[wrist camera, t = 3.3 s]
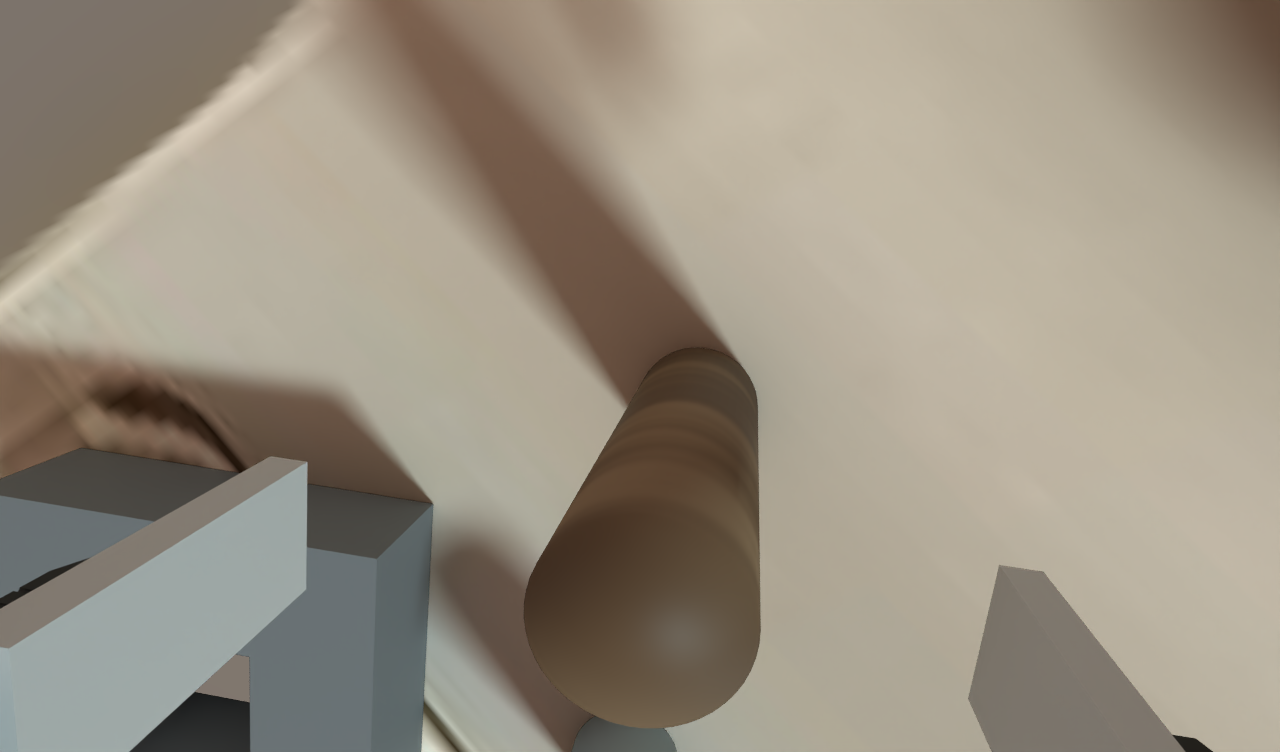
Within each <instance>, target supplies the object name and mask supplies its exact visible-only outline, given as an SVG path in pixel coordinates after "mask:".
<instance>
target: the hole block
mask: <svg viewBox="0 0 1280 752" xmlns="http://www.w3.org/2000/svg"><path fill="white" fill-rule="evenodd" d="M238 474H240V473H235V472H229V471H223V470H216V469H210V468H204V467H198V466H191V465H185V464H179V463H173V462H166V461H160V460H154V459H147V458H141V457H135V456H129V455H122V454H116V453H110V452H104V451H97V450H91V449H85V448H79V449H77V450H74V451H72V452H69V453H66V454H64V455H61V456H59V457H56V458H53V459H51V460H48V461H46V462H43V463H40V464H38V465H35V466H32V467H30V468H27V469H25V470H22V471H19V472H17V473H14V474H12V475H9V476H6V477H4V478H1V479H0V598H1V597H3V596H5V595H7V594H9V593H11V592H12V591H16V592H18V590H19V588H20V587H21V586H23V585H25V584H27V583H29V582H31V581H32V580H34V579H36V578H38V577H40V576H41V575H43V574H45V573H47V572H49V571H51V570H54V569H57V568H60V567H63V566H66V565H69V564H72V563H75V562H78V561H81V560H84V559H87V558H91V557H93V556H95V555H96V554H98V553H100V552H102V551H104V550H105V549H107V548H109V547H111V546H112V545H114V544H116V543H118V542H119V541H121V540H123V539H125V538H127V537H128V536H130V535H132V534H134V533H135V532H137V531H139V530H141V529H142V528H144V527H146V526H148V525H150V524H151V523H153V522H155V521H157V520H158V519H160V518H162V517H164V516H165V515H167V514H169V513H171V512H173V511H174V510H176V509H178V508H180V507H181V506H183V505H185V504H187V503H188V502H190V501H192V500H194V499H196V498H197V497H199V496H201V495H203V494H204V493H206V492H208V491H210V490H212V489H213V488H215V487H217V486H219V485H220V484H222V483H224V482H226V481H227V480H229V479H231V478H233V477H235V476H236V475H238ZM432 517H433V504H430V503H424V502H417V501H411V500H405V499H398V498H392V497H386V496H380V495H373V494H367V493H361V492H355V491H348V490H342V489H336V488H329V487H323V486H317V485H311V484H307V557H306V590H305V591H304V592H303V593H302V594H301V595H300V596H298V597H297V598H296V599H295V600H294V601H293V602H292V603H291V604H290V605H289V606H288V607H286V608H285V609H284V610H283V611H282V612H281V613H280V614H279V615H278V616H277V617H276V618H274V619H273V620H272V621H271V622H270V623H269V624H268V625H267V626H266V627H265V628H264V629H262V630H261V631H260V632H259V633H258V634H257V635H256V636H255V637H254V638H253V639H252V640H250V641H249V642H248V643H247V644H246V645H245V646H244V647H243V648H242V649H241V650H240V651H238V652H237V653H236V654H237V655H241V656H247V657H249V662H250V703H249V702H244V701H239V700H233V699H228V698H223V697H218V696H212V695H207V694H202V693H197V692H194V693H193V694H192V695H191V696H189V697H188V698H187V699H186V700H185V701H184V702H183V703H182V704H181V705H180V706H179V707H177V708H176V709H175V710H174V711H173V712H172V713H171V714H170V715H169V716H168V717H167V718H165V719H164V720H163V721H162V722H161V723H160V724H159V725H158V726H157V727H156V728H155V729H153V730H152V731H151V732H150V733H149V734H148V735H147V736H146V737H145V738H144V739H143V740H141V741H140V742H139V743H138V744H137V745H136V746H135V747H134V748H133V749H132V750H131V751H129V752H421V743H422V723H423V702H424V681H425V661H426V640H427V620H428V599H429V579H430V558H431V537H432Z"/></svg>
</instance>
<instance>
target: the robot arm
mask: <svg viewBox="0 0 1280 752" xmlns="http://www.w3.org/2000/svg"><path fill="white" fill-rule="evenodd" d="M306 557H307V462H306V461H299V460H292V459H286V458H279V457H272V456H270V457H268V458H266V459H265V460H263V461H261V462H259V463H258V464H256V465H254V466H252V467H250V468H249V469H247V470H245V471H243V472H242V473H240V474H238V475H236V476H235V477H233V478H231V479H229V480H227V481H226V482H224V483H222V484H220V485H219V486H217V487H215V488H213V489H212V490H210V491H208V492H206V493H204V494H203V495H201V496H199V497H197V498H196V499H194V500H192V501H190V502H188V503H187V504H185V505H183V506H181V507H180V508H178V509H176V510H174V511H173V512H171V513H169V514H167V515H165V516H164V517H162V518H160V519H158V520H157V521H155V522H153V523H151V524H150V525H148V526H146V527H144V528H142V529H141V530H139V531H137V532H135V533H134V534H132V535H130V536H128V537H127V538H125V539H123V540H121V541H119V542H118V543H116V544H114V545H112V546H111V547H109V548H107V549H105V550H104V551H102V552H100V553H98V554H96V555H95V556H93V557H91V558H87V559H84V560H81V561H78V562H75V563H72V564H69V565H66V566H63V567H60V568H57V569H54V570H51V571H49V572H47V573H45V574H43V575H41V576H40V577H38V578H36V579H34V580H32V581H31V582H29V583H27V584H25V585H23V586H21V587H20V588H19V590H18V592H16V591H12V592H11V593H9V594H7V595H5V596H3V597H1V598H0V752H129V751H131V750H132V749H133V748H134V747H135V746H136V745H137V744H138V743H139V742H140V741H141V740H143V739H144V738H145V737H146V736H147V735H148V734H149V733H150V732H151V731H152V730H153V729H155V728H156V727H157V726H158V725H159V724H160V723H161V722H162V721H163V720H164V719H165V718H167V717H168V716H169V715H170V714H171V713H172V712H173V711H174V710H175V709H176V708H177V707H179V706H180V705H181V704H182V703H183V702H184V701H185V700H186V699H187V698H188V697H189V696H191V695H192V694H193V693H194V692H195V691H196V690H197V689H198V688H199V687H200V686H201V685H202V684H204V683H205V682H206V681H207V680H208V679H209V678H210V677H211V676H212V675H213V674H214V673H215V672H217V671H218V670H219V669H220V668H221V667H222V666H223V665H224V664H225V663H226V662H228V660H230V659H231V658H232V657H233V656H234V655H235V654H236V653H237V652H238V651H240V650H241V649H242V648H243V647H244V646H245V645H246V644H247V643H248V642H249V641H250V640H252V639H253V638H254V637H255V636H256V635H257V634H258V633H259V632H260V631H261V630H262V629H264V628H265V627H266V626H267V625H268V624H269V623H270V622H271V621H272V620H273V619H274V618H276V617H277V616H278V615H279V614H280V613H281V612H282V611H283V610H284V609H285V608H286V607H288V606H289V605H290V604H291V603H292V602H293V601H294V600H295V599H296V598H297V597H298V596H300V595H301V594H302V593H303V592H304V591H305V590H306ZM968 699H969V702H970V704H971V706H972V708H973V711H974V713H975V715H976V717H977V720H978V722H979V724H980V726H981V729H982V731H983V733H984V735H985V738H986V740H987V742H988V744H989V747H990V749H991V751H992V752H1213V751H1211V750H1210V749H1209V748H1207V747H1206V746H1205V745H1203V744H1202V743H1201V742H1199V741H1198V740H1197V739H1195V738H1189V737H1183V736H1176V735H1172V734H1171V733H1170V732H1169V730H1168V729H1167V728H1166V726H1165V725H1164V724H1163V723H1162V721H1161V720H1160V719H1159V718H1158V716H1157V715H1156V714H1155V713H1154V711H1153V710H1152V709H1151V707H1150V706H1149V705H1148V704H1147V702H1146V701H1145V700H1144V699H1143V697H1142V696H1141V695H1140V694H1139V692H1138V691H1137V690H1136V689H1135V687H1134V686H1133V685H1132V683H1131V682H1130V681H1129V680H1128V678H1127V677H1126V676H1125V675H1124V673H1123V672H1122V671H1121V670H1120V668H1119V667H1118V666H1117V664H1116V663H1115V662H1114V661H1113V659H1112V658H1111V657H1110V656H1109V654H1108V653H1107V652H1106V651H1105V649H1104V648H1103V647H1102V645H1101V644H1100V643H1099V642H1098V640H1097V639H1096V638H1095V637H1094V635H1093V634H1092V633H1091V632H1090V630H1089V629H1088V628H1087V626H1086V625H1085V624H1084V623H1083V621H1082V620H1081V619H1080V618H1079V616H1078V615H1077V614H1076V613H1075V611H1074V610H1073V609H1072V607H1071V606H1070V605H1069V604H1068V602H1067V601H1066V600H1065V599H1064V597H1063V596H1062V595H1061V594H1060V592H1059V591H1058V590H1057V588H1056V587H1055V586H1054V585H1053V583H1052V582H1051V581H1050V580H1049V578H1048V577H1047V576H1046V575H1045V573H1044V572H1042V571H1035V570H1028V569H1021V568H1015V567H1008V566H1001V565H999V569H998V573H997V577H996V581H995V586H994V590H993V594H992V599H991V603H990V607H989V612H988V616H987V620H986V625H985V629H984V633H983V637H982V642H981V646H980V650H979V655H978V659H977V663H976V668H975V672H974V676H973V681H972V685H971V689H970V693H969V698H968Z"/></svg>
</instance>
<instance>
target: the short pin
mask: <svg viewBox="0 0 1280 752" xmlns="http://www.w3.org/2000/svg"><path fill="white" fill-rule="evenodd" d="M571 752H677V750H676V747H675V745H674V742H673V740H672V739H671V737H670V736H669V734H668V733H667V732H666V731H665V729H664V728H637V727H629V726H624V725H620V724H616V723H612V722H609V721H607V720H604V719H601V718H599V717H597V716H595V717H593V718H591V719H590V720H589V721H587V722H586V723H585V724H584V725H583V727H582V728H581V729H580V731H579V732H578V734H577V736H576V739H575V742H574V745H573V748H572V751H571Z"/></svg>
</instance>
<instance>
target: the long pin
mask: <svg viewBox="0 0 1280 752" xmlns="http://www.w3.org/2000/svg"><path fill="white" fill-rule="evenodd" d="M524 622H525V629H526V634H527V638H528V642H529V645H530V648H531V650H532V652H533V655H534V657H535V659H536V661H537V663H538V664H539V666H540V668H541V670H542V671H543V673H544V674H545V675H546V677H547V678H548V679H549V680H550V682H551V683H552V684H553V685H554V686H555V687H556V688H557V689H558V690H559V691H560V692H561V693H562V694H563V695H564V696H565V697H566V698H568V699H569V700H570V701H571V702H573V703H574V704H576V705H577V706H579V707H580V708H582V709H583V710H585V711H587V712H589V713H591V714H593V715H595V716H597V717H599V718H601V719H604V720H607V721H609V722H612V723H616V724H620V725H624V726H629V727H637V728H666V727H674V726H678V725H682V724H687V723H689V722H692V721H695V720H697V719H700V718H702V717H704V716H706V715H708V714H710V713H712V712H713V711H715V710H716V709H718V708H719V707H721V706H722V705H723V704H725V703H726V702H727V701H728V700H729V699H730V698H731V697H732V696H733V695H734V694H735V693H736V692H737V691H738V689H739V688H740V687H741V686H742V684H743V683H744V682H745V680H746V678H747V676H748V675H749V673H750V671H751V669H752V667H753V664H754V662H755V659H756V656H757V652H758V647H759V642H760V630H761V626H760V549H759V473H758V405H757V396H756V391H755V388H754V386H753V383H752V381H751V379H750V377H749V376H748V374H747V373H746V371H745V370H744V369H743V368H742V367H741V366H740V365H739V364H738V363H737V362H736V361H734V360H733V359H732V358H730V357H729V356H727V355H725V354H723V353H721V352H718V351H715V350H712V349H707V348H687V349H682V350H678V351H675V352H673V353H671V354H669V355H667V356H665V357H664V358H662V359H661V360H659V361H658V362H657V363H656V364H655V365H654V366H653V367H652V368H651V369H650V370H649V372H648V374H647V375H646V377H645V378H644V380H643V382H642V383H641V385H640V387H639V389H638V390H637V392H636V394H635V395H634V397H633V399H632V401H631V402H630V404H629V406H628V407H627V409H626V411H625V413H624V414H623V416H622V418H621V419H620V421H619V423H618V425H617V426H616V428H615V430H614V431H613V433H612V435H611V437H610V438H609V440H608V442H607V443H606V445H605V447H604V449H603V450H602V452H601V454H600V455H599V457H598V459H597V461H596V462H595V464H594V466H593V467H592V469H591V471H590V473H589V474H588V476H587V478H586V479H585V481H584V483H583V485H582V486H581V488H580V490H579V491H578V493H577V495H576V497H575V498H574V500H573V502H572V504H571V505H570V507H569V509H568V510H567V512H566V514H565V516H564V517H563V519H562V521H561V522H560V524H559V526H558V528H557V529H556V531H555V533H554V534H553V536H552V538H551V540H550V541H549V543H548V545H547V546H546V548H545V550H544V552H543V553H542V555H541V557H540V558H539V560H538V562H537V564H536V566H535V568H534V570H533V572H532V574H531V576H530V579H529V582H528V586H527V589H526V594H525V601H524Z"/></svg>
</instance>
